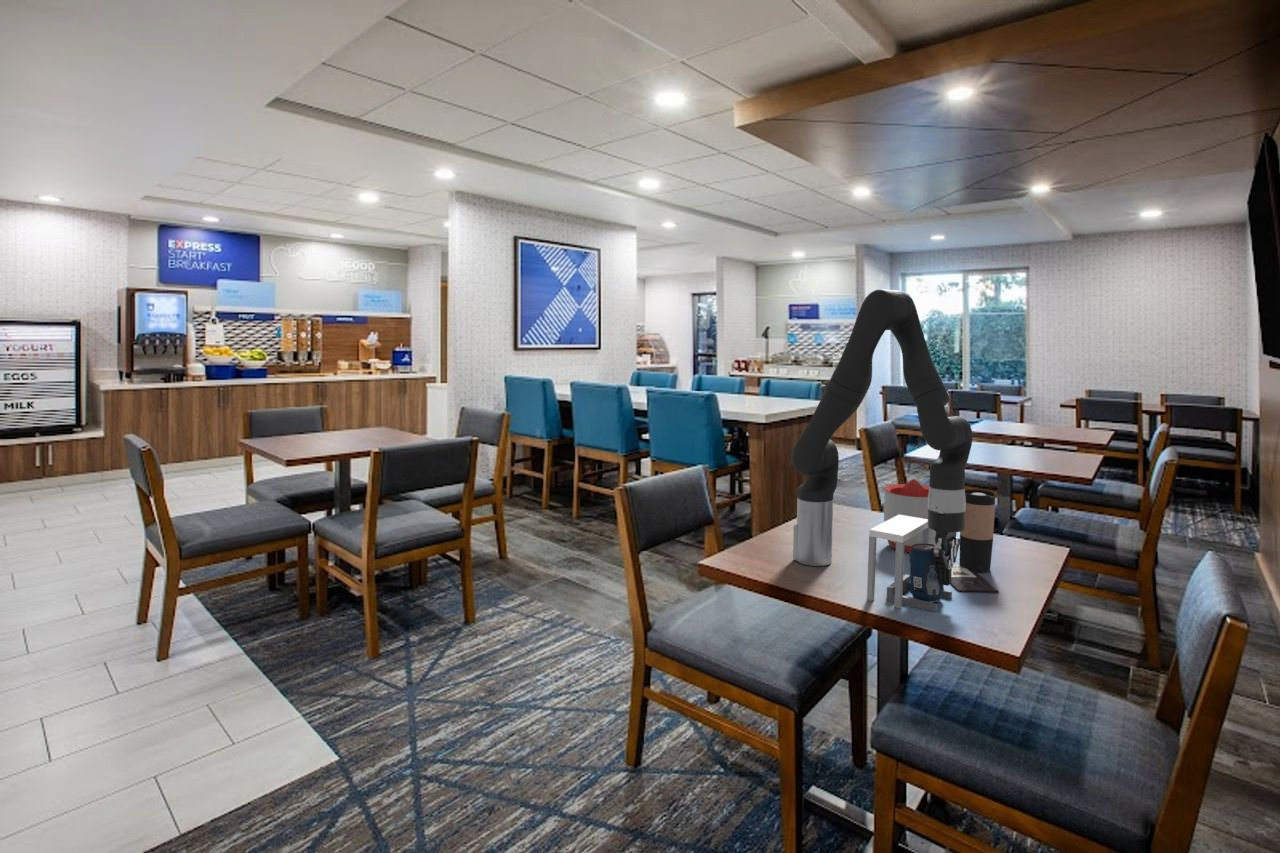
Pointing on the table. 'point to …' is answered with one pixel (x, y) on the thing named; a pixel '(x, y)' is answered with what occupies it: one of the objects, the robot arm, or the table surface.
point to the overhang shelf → (898, 558)
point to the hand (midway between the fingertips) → (944, 584)
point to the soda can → (924, 574)
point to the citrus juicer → (907, 507)
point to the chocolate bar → (970, 581)
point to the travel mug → (977, 531)
